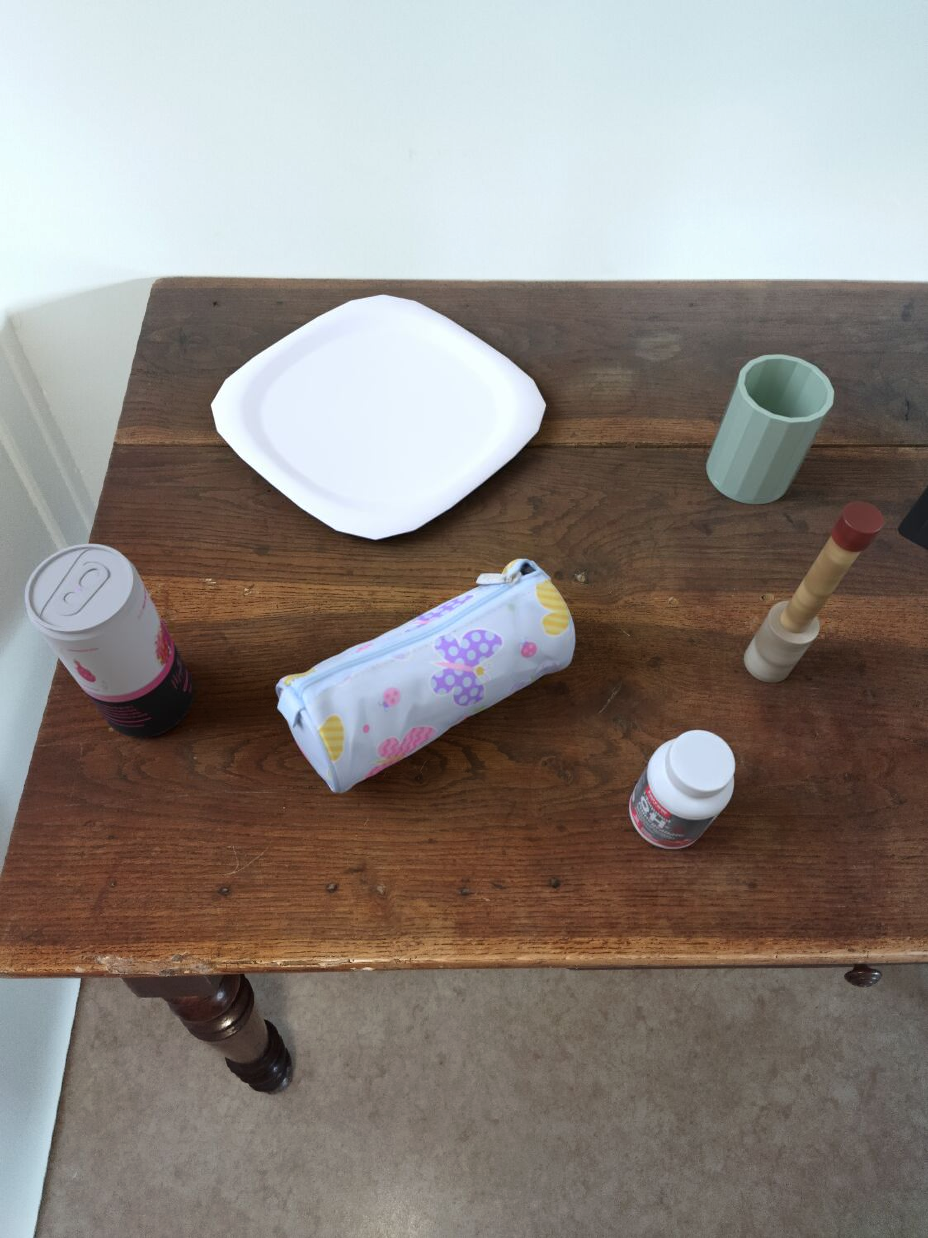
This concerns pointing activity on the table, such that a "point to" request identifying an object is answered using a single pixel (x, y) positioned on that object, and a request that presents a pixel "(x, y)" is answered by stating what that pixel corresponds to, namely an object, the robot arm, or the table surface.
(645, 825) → the pill bottle
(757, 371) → the cup
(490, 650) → the pencil case
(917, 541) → the robot arm
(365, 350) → the plate
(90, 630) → the beverage can
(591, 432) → the table surface
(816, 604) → the wooden rod
